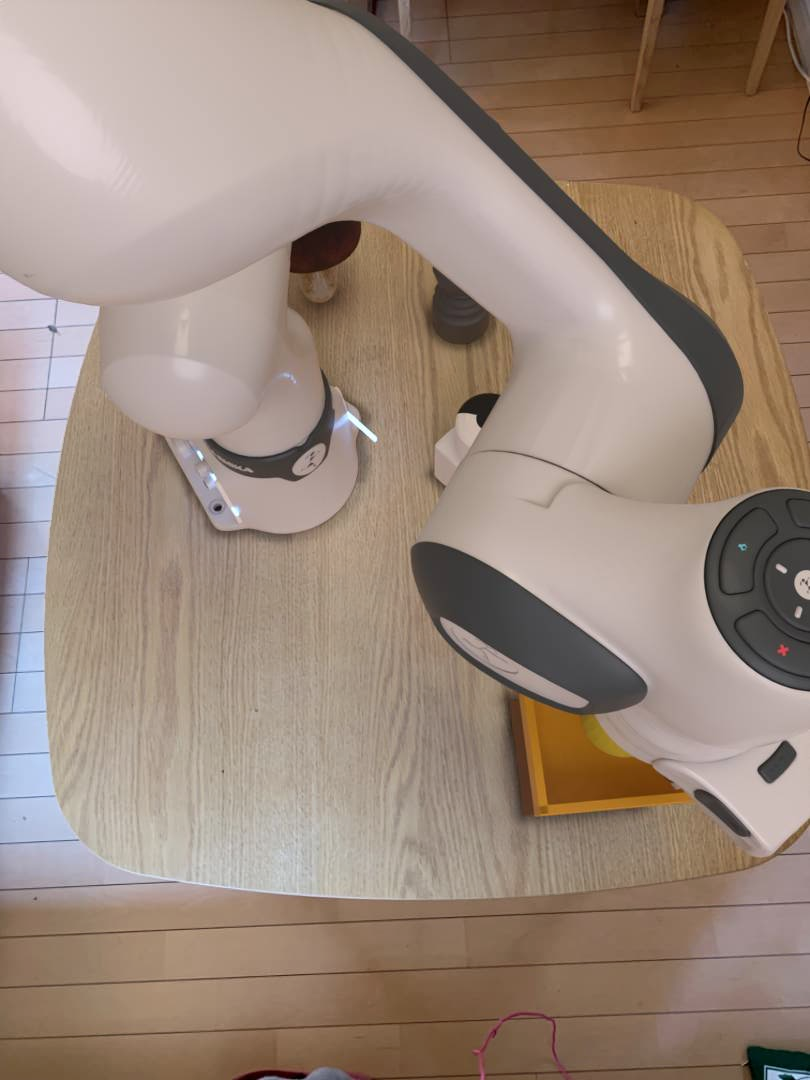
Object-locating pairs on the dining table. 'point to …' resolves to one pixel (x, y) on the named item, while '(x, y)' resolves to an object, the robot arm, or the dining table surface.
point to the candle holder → (456, 312)
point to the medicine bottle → (462, 435)
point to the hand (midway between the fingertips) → (621, 716)
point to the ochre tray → (577, 767)
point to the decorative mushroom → (323, 257)
